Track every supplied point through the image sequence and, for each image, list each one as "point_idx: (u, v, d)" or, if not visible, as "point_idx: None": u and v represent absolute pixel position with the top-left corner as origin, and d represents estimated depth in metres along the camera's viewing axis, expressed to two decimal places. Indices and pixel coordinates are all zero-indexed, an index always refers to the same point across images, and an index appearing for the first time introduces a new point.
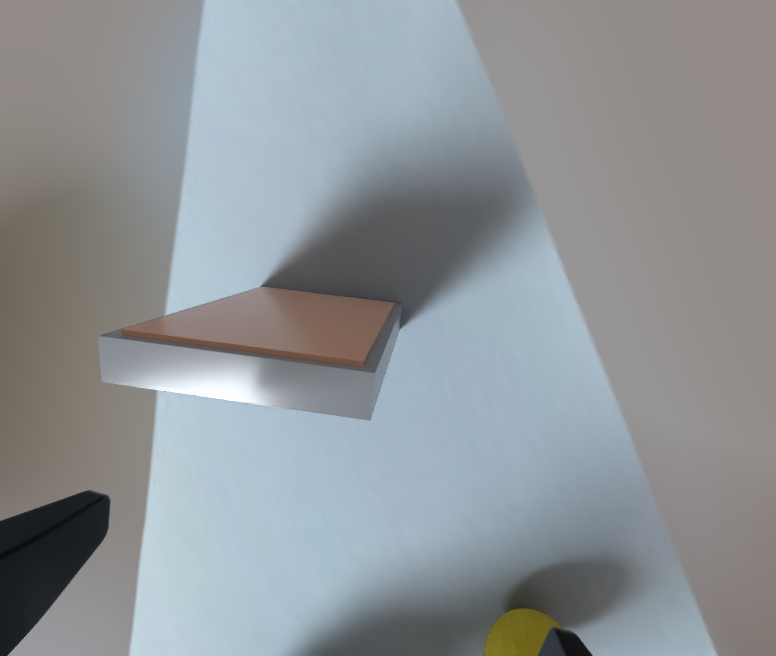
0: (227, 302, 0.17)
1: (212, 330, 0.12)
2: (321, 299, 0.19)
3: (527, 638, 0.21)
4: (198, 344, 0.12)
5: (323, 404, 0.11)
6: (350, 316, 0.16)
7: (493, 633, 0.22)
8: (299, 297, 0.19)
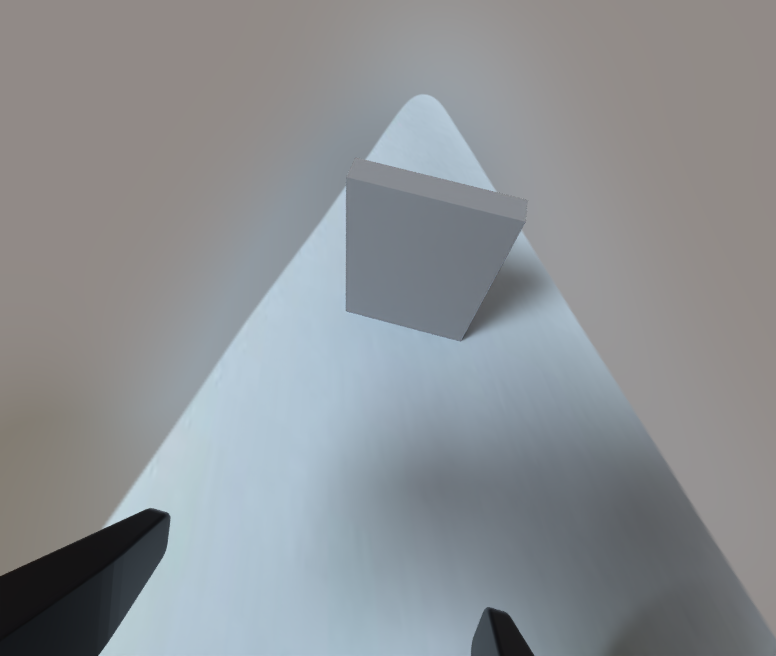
0: None
1: None
2: None
3: None
4: None
5: (495, 209, 0.17)
6: None
7: None
8: None
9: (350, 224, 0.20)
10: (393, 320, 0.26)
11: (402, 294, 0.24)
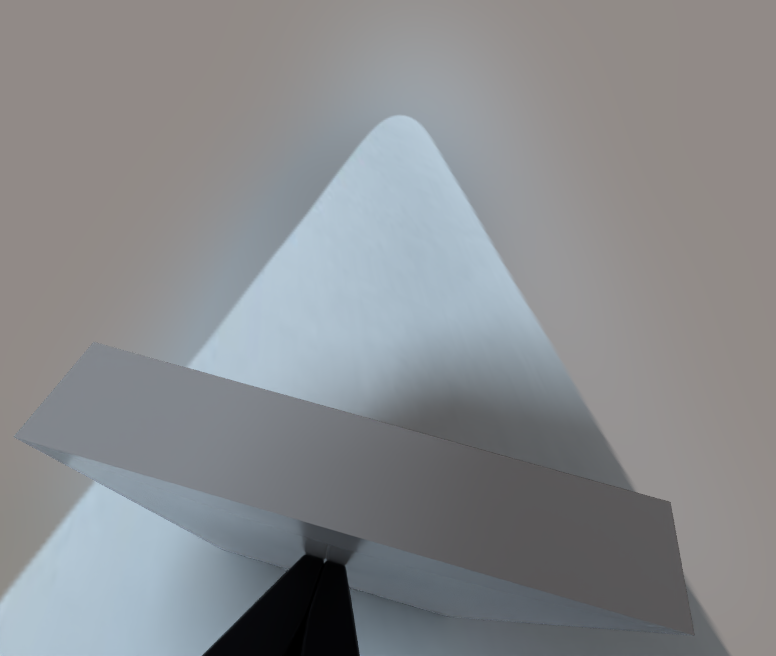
0: None
1: None
2: None
3: None
4: None
5: (571, 570, 0.04)
6: None
7: None
8: None
9: (129, 496, 0.07)
10: None
11: None
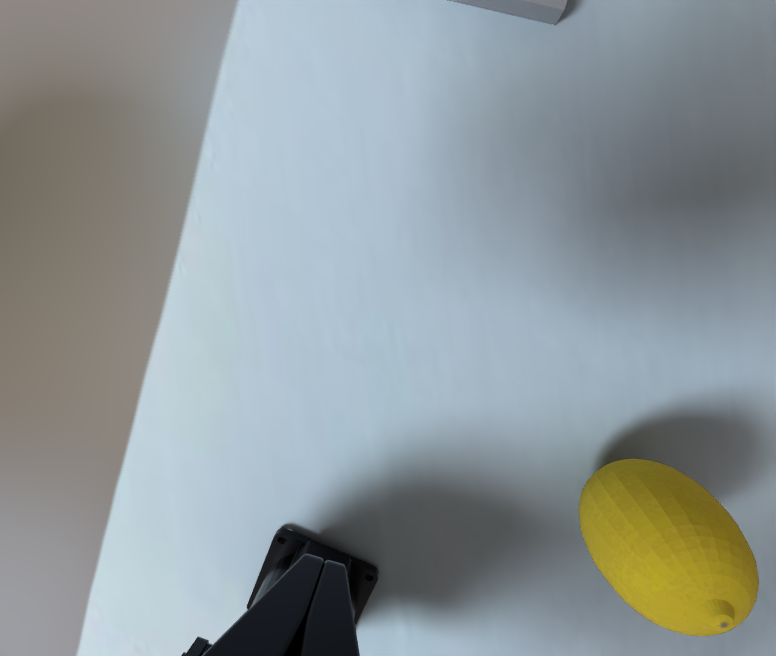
0: None
1: None
2: None
3: (657, 474, 0.16)
4: None
5: None
6: None
7: (600, 477, 0.18)
8: None
9: None
10: None
11: None
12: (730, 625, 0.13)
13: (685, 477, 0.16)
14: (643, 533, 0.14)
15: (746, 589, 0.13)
